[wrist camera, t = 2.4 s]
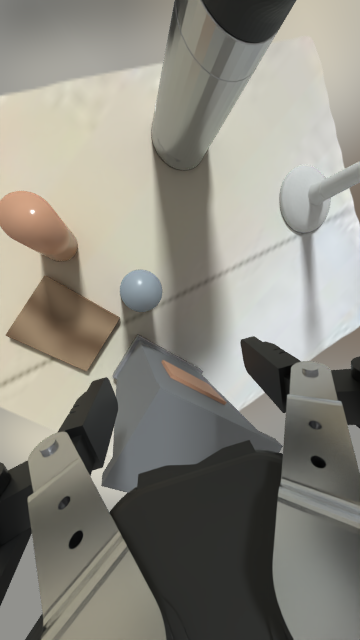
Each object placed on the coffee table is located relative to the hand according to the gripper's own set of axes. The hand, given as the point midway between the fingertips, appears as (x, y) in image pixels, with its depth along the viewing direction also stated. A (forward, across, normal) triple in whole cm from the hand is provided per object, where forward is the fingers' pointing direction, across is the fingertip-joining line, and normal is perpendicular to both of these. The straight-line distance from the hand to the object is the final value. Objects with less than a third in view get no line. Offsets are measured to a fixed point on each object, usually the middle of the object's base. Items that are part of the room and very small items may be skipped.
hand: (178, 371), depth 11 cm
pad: (+21, +15, -1) cm, 26 cm away
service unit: (+22, +4, +12) cm, 25 cm away
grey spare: (+23, +4, -3) cm, 24 cm away
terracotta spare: (+22, +13, -13) cm, 29 cm away
